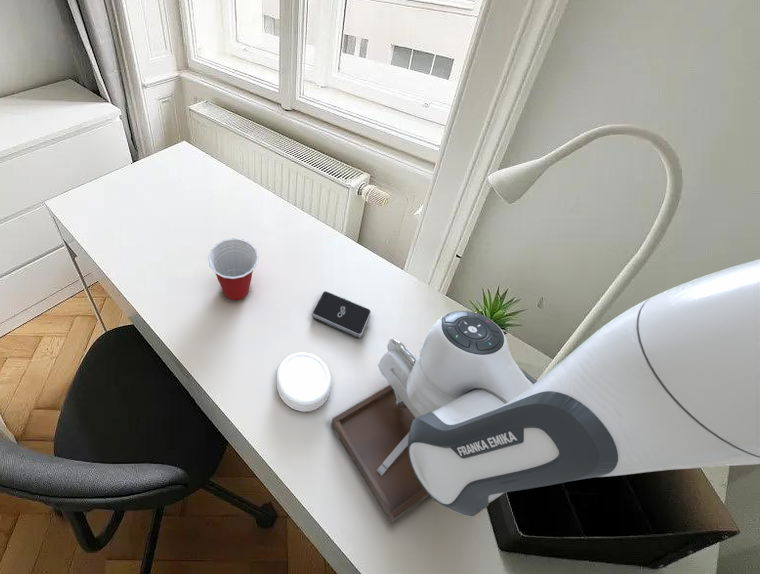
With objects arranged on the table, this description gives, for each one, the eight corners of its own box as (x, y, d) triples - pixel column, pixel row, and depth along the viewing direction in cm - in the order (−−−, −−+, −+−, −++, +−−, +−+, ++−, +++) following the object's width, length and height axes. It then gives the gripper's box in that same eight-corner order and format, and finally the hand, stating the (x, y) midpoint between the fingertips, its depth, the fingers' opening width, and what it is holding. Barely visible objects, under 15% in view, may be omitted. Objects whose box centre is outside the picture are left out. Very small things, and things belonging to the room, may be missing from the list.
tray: (504, 439, 69) (510, 433, 67) (391, 523, 61) (394, 518, 59) (435, 362, 80) (438, 356, 78) (331, 424, 71) (332, 418, 70)
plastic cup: (223, 317, 89) (218, 283, 81) (206, 282, 96) (201, 247, 89) (267, 299, 92) (267, 264, 84) (248, 266, 100) (246, 231, 92)
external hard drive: (359, 340, 84) (360, 335, 82) (310, 318, 88) (310, 313, 87) (370, 315, 88) (371, 310, 87) (322, 295, 93) (323, 290, 91)
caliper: (447, 390, 75) (457, 373, 71) (452, 395, 74) (462, 378, 70) (376, 471, 65) (382, 457, 61) (381, 477, 65) (388, 463, 61)
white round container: (286, 419, 72) (286, 411, 70) (270, 368, 80) (270, 358, 77) (338, 403, 74) (340, 394, 72) (317, 354, 82) (319, 345, 79)
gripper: (376, 342, 66) (364, 382, 75) (480, 470, 52) (451, 501, 61) (406, 326, 68) (391, 367, 77) (514, 445, 54) (480, 479, 63)
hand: (418, 427), depth 69 cm, fingers open, 7 cm apart
